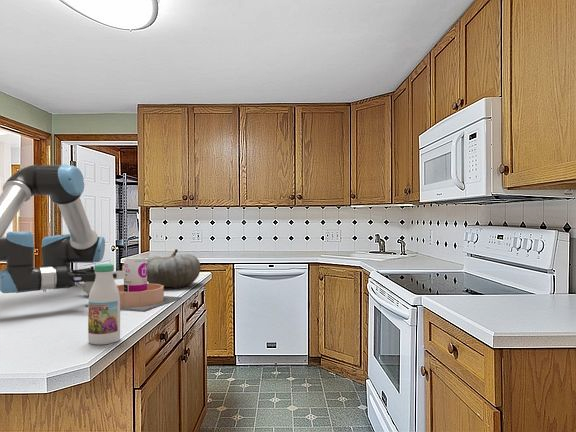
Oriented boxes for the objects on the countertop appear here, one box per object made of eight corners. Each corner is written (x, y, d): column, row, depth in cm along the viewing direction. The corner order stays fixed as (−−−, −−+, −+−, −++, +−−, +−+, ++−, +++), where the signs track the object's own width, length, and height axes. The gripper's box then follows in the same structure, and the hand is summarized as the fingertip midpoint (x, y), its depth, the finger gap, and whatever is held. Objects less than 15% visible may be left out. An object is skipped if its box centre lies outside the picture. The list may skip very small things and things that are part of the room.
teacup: (118, 293, 186) (118, 274, 186) (105, 298, 176) (104, 278, 176) (86, 293, 188) (85, 273, 188) (70, 298, 177) (70, 277, 177)
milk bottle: (94, 337, 122) (94, 263, 121) (123, 336, 122) (123, 262, 122) (83, 345, 114) (83, 266, 114) (115, 345, 115) (115, 266, 114)
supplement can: (151, 297, 170) (151, 257, 170) (137, 301, 163) (137, 259, 163) (133, 295, 173) (133, 256, 173) (118, 299, 165) (118, 258, 165)
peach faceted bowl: (128, 295, 183) (128, 281, 183) (181, 298, 176) (181, 284, 176) (85, 307, 160) (85, 291, 160) (144, 311, 153) (144, 295, 153)
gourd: (195, 285, 191) (189, 244, 193) (137, 295, 191) (131, 254, 193) (207, 282, 216) (202, 246, 217) (156, 291, 216) (151, 255, 218)
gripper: (46, 284, 161) (108, 278, 174) (62, 294, 141) (130, 287, 154) (46, 263, 161) (108, 259, 174) (62, 270, 141) (130, 265, 154)
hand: (119, 272), depth 164 cm, fingers open, 13 cm apart
